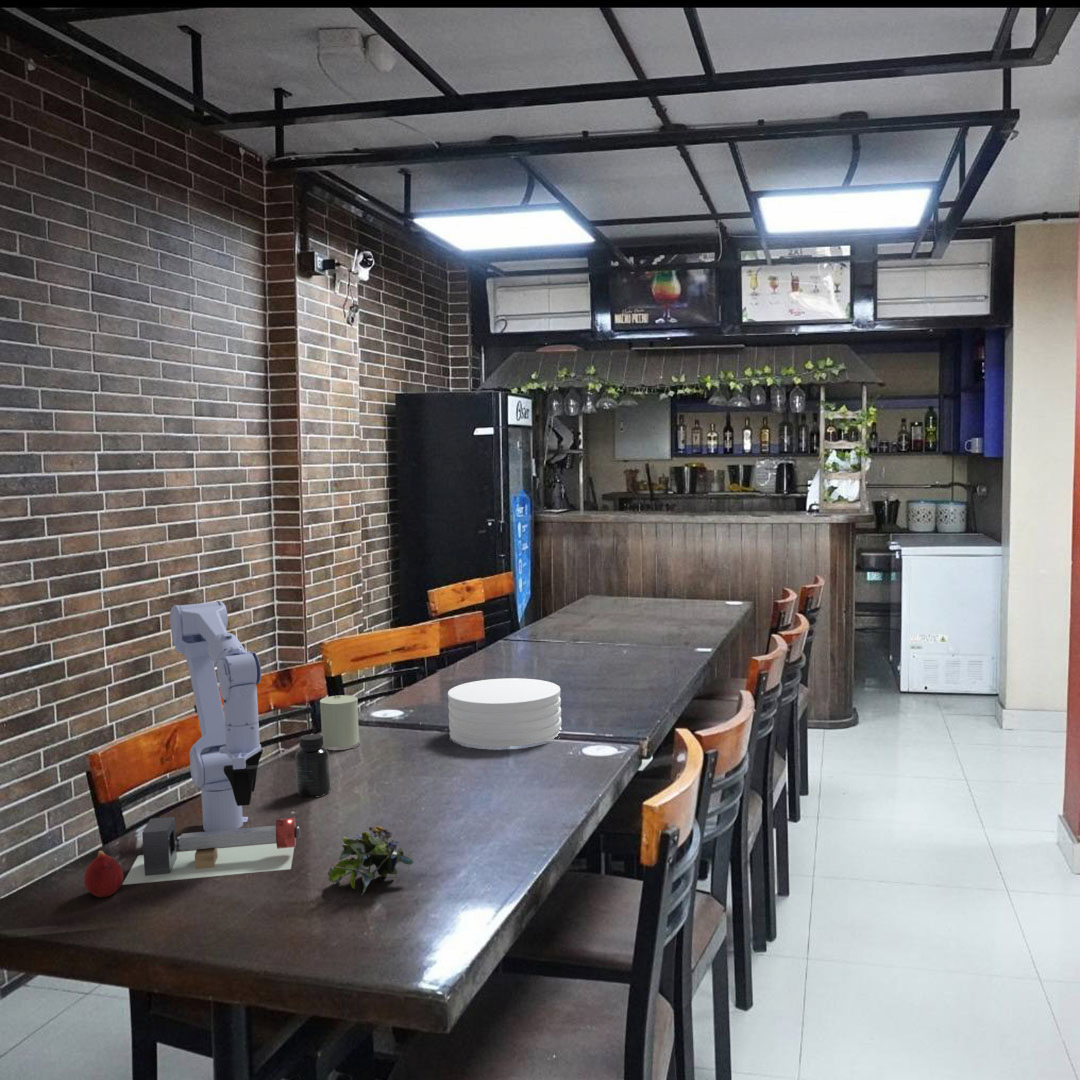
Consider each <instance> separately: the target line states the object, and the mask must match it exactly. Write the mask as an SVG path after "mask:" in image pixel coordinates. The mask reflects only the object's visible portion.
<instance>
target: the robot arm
mask: <svg viewBox="0 0 1080 1080" xmlns="http://www.w3.org/2000/svg"><path fill="white" fill-rule="evenodd" d="M227 610H228V609H227V607H226V605H225V604H224V602H223V601H221V600H216V601H211V602H210V601H209V602H201V603H200V602H199V603H193V604H191V603H190V604H182V605H178V604H174V605H172V607H171V609H170V612H169V613H170V614H169V626H170V631H171V638H172V643H173V645H174V648H175V649H174V650H175V651H176V652H178V653H181V654H183V655H184V657H185V660H186V663H187V667H188V671H189V672H188V673H189V677H190V683H191V687H192V693H193V698H194V703H195V709H196V713H197V719H198V723H199V729H200V733H201V737H200V738H198V740H197V741H196V742H195V743H194V744H193V745H192V746H191V748H190V751H189V753H188V754H189V761H190V762H189V763H190V765H189V767H190V768H189V769H190V776H191V779H192V783H193V785H194V786H195V787H197V788H200V792H201V810H202V811H201V813H202V824H203V825H202V826H203V827H202V828H203V830H204V831H203V832H207V831H219V830H230V829H241V828H242V827H243V825H244V823H247V822H248V820H249V817H248V816H243V807H244V806H250V804H251V799H252V792H254V791H255V788H256V782H257V774H258V768H259V762H260V759H261V757H262V755H263V752H264V750H263V748H262V744H260V726H259V725H260V724H259V722H260V721H259V706H258V704H259V703H258V686H257V685H259V684H260V683H261V680H262V668H261V661H260V659H259V657H258V655H257V652H256V651H247V650H246V649H245V647H244V646H243V645H242V642H240V640H239V639H238V638H237V636H236V635H235V634H233V633H231V632H228V631H227V628H228V624H229V617H228V611H227ZM215 668H216V669H215ZM222 699H223V702H222Z"/></svg>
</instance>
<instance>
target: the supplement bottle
mask: <svg viewBox="0 0 1080 1080" xmlns="http://www.w3.org/2000/svg"><path fill="white" fill-rule="evenodd" d="M298 739H299V744H298V745H299V748H300V749H298V751H296V753H295V756H294V757H295V776H296V777H295V778H296V793H297V795H298V797H299V796H300V797H301V796H303V797H302V798H304V797H315V798H317V797H316V796H321V795H323V794H326V793H328V792H329V791H331V775H330V773H331V771H330V753H329V751H328V750H327V749H325V748H324V747H322V746H323V745H324V742H323V736H322V734H316V733H312V734H310V733H309V734H304V735H302V736H300V737H299V738H298ZM329 793H330V792H329ZM329 793H328V794H329ZM326 795H327V794H326ZM321 797H322V796H321Z"/></svg>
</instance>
